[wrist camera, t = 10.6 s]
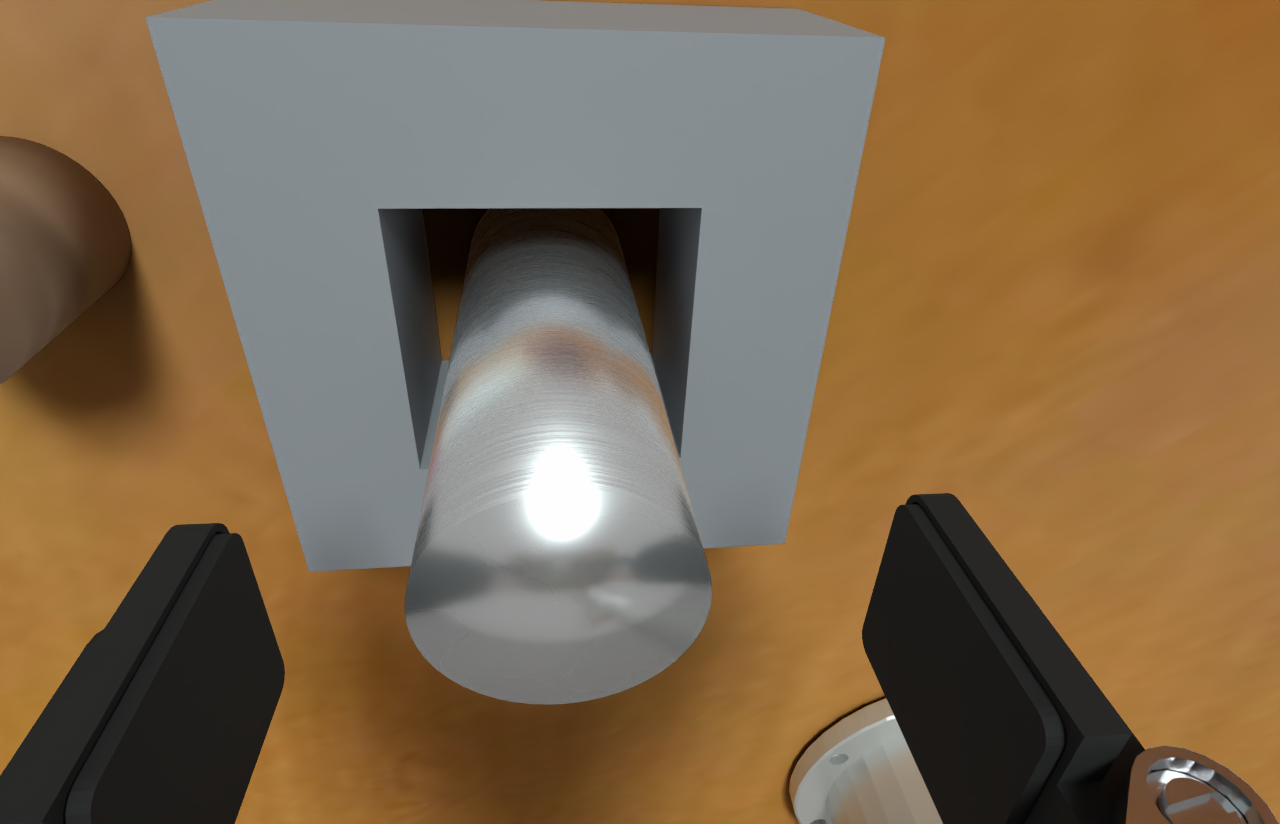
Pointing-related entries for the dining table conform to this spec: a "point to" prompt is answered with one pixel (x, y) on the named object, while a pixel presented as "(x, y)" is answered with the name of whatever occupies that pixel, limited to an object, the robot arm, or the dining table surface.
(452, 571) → the steel pin
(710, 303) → the hole block
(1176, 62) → the dining table surface
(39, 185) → the walnut pin
